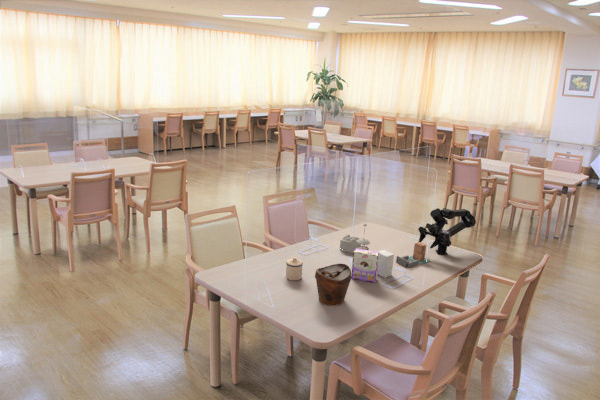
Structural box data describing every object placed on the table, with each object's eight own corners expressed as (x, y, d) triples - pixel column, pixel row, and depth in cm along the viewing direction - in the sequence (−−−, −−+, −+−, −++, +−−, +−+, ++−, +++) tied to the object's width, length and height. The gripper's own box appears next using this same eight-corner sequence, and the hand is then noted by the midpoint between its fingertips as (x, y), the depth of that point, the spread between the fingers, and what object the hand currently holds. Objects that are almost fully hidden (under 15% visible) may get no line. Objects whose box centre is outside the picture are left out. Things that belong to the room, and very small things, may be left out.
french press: (351, 264, 294) (354, 224, 286) (356, 257, 304) (360, 219, 297) (367, 267, 290) (371, 227, 283) (372, 260, 301) (376, 222, 293)
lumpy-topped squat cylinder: (362, 251, 314) (363, 238, 312) (344, 253, 309) (345, 240, 306) (353, 245, 323) (354, 232, 321) (336, 247, 318) (337, 234, 315)
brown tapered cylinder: (307, 304, 244) (310, 271, 239) (320, 288, 262) (323, 257, 257) (341, 313, 238) (345, 280, 233) (352, 296, 256) (356, 264, 251)
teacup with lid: (304, 279, 271) (306, 259, 268) (290, 281, 267) (291, 262, 264) (294, 270, 281) (296, 251, 278) (280, 272, 277) (281, 253, 274)
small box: (391, 275, 282) (394, 254, 279) (384, 278, 278) (386, 256, 275) (381, 270, 288) (383, 249, 284) (373, 272, 284) (376, 251, 281)
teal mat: (416, 255, 313) (416, 254, 313) (430, 261, 305) (430, 260, 304) (406, 258, 307) (406, 257, 307) (420, 264, 299) (420, 264, 299)
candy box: (377, 279, 277) (380, 251, 272) (375, 283, 271) (378, 255, 267) (353, 274, 281) (355, 247, 276) (350, 278, 276) (353, 251, 271)
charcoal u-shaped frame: (406, 258, 306) (407, 253, 305) (418, 264, 299) (419, 258, 298) (396, 262, 300) (396, 256, 299) (407, 267, 294) (408, 261, 292)
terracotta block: (418, 256, 309) (420, 242, 306) (424, 259, 305) (426, 244, 302) (412, 258, 306) (414, 243, 303) (419, 261, 302) (421, 246, 300)
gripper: (421, 214, 311) (408, 233, 308) (446, 223, 297) (432, 243, 294) (428, 223, 318) (414, 243, 315) (452, 233, 304) (438, 253, 301)
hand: (424, 245), depth 306 cm, fingers open, 9 cm apart
